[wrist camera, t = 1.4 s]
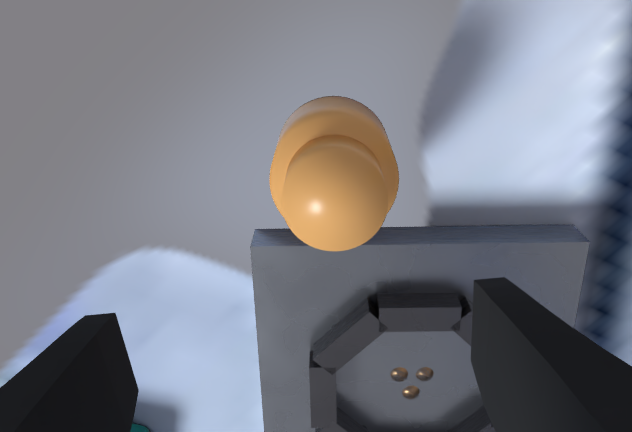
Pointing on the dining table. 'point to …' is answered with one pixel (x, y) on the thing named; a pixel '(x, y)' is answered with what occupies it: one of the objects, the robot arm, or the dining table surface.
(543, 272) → the junction plate
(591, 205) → the dining table surface
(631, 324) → the dining table surface
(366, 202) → the orange rounded knob
